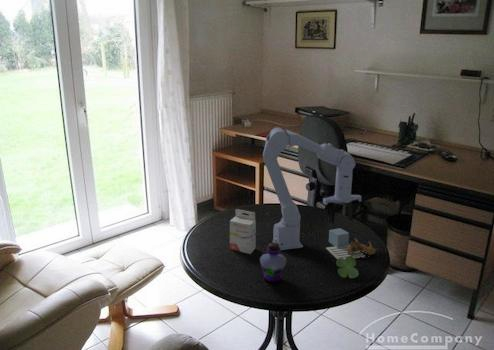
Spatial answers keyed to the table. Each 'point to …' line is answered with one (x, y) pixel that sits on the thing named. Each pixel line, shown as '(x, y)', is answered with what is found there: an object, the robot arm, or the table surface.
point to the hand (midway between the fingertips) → (340, 220)
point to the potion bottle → (273, 263)
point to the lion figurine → (360, 247)
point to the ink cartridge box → (243, 232)
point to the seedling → (347, 267)
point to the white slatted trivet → (343, 252)
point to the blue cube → (338, 237)
